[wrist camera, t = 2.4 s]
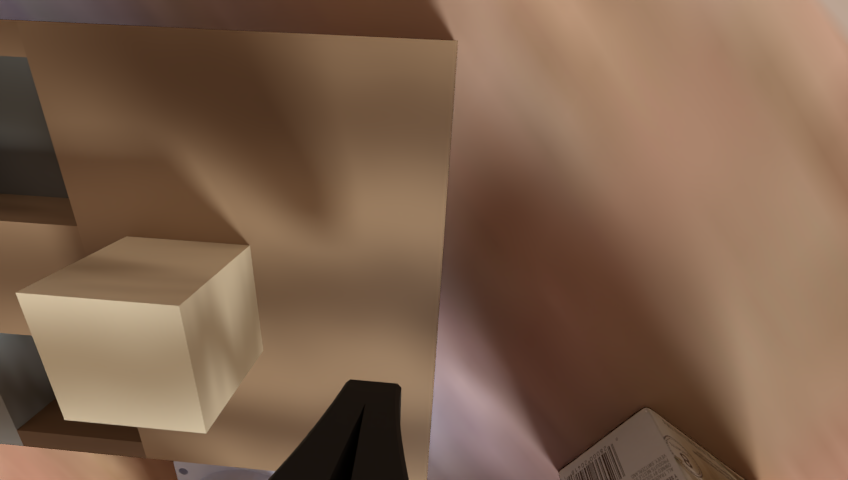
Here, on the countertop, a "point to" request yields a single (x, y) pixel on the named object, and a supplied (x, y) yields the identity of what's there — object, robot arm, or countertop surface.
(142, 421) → the block
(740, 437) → the countertop surface
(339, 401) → the robot arm
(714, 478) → the coffee box
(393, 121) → the trap board
